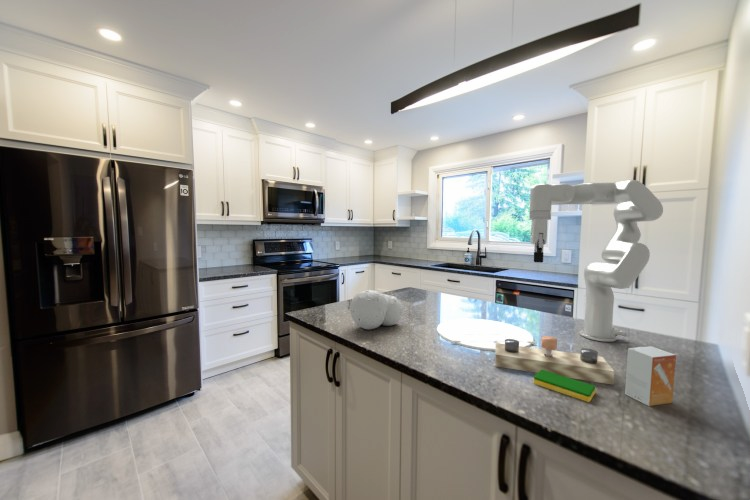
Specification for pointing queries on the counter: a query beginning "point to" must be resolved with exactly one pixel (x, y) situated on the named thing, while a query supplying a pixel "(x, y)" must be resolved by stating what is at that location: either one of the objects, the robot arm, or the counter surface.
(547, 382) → the dish sponge
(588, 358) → the near knob
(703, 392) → the counter surface
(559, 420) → the counter surface
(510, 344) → the far knob
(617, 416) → the counter surface
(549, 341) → the middle knob
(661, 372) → the small box
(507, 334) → the lazy susan
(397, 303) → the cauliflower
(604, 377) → the knob mount
